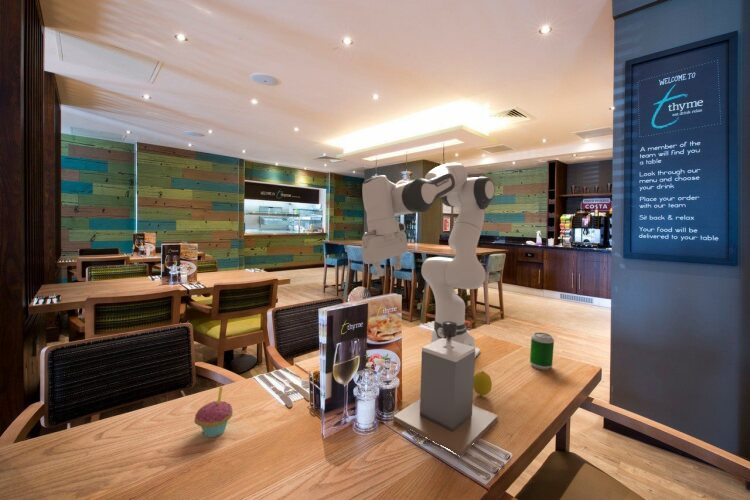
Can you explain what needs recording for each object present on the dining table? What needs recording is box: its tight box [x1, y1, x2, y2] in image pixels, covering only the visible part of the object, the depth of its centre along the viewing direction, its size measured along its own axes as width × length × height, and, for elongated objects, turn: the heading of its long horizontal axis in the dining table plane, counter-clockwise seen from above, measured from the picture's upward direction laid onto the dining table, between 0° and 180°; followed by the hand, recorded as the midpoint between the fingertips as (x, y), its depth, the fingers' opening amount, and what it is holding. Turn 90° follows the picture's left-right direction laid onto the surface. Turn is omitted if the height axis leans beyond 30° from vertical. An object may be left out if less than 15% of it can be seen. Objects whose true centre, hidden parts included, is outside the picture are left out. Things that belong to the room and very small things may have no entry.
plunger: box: [442, 321, 457, 350], centre depth 90 cm, size 8×8×24 cm
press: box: [392, 338, 499, 458], centre depth 91 cm, size 20×20×20 cm
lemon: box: [473, 370, 493, 397], centre depth 104 cm, size 6×6×8 cm
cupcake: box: [194, 383, 234, 438], centre depth 85 cm, size 9×8×12 cm
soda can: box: [529, 332, 555, 371], centre depth 126 cm, size 8×8×12 cm
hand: (389, 272), depth 106 cm, fingers open, 8 cm apart
